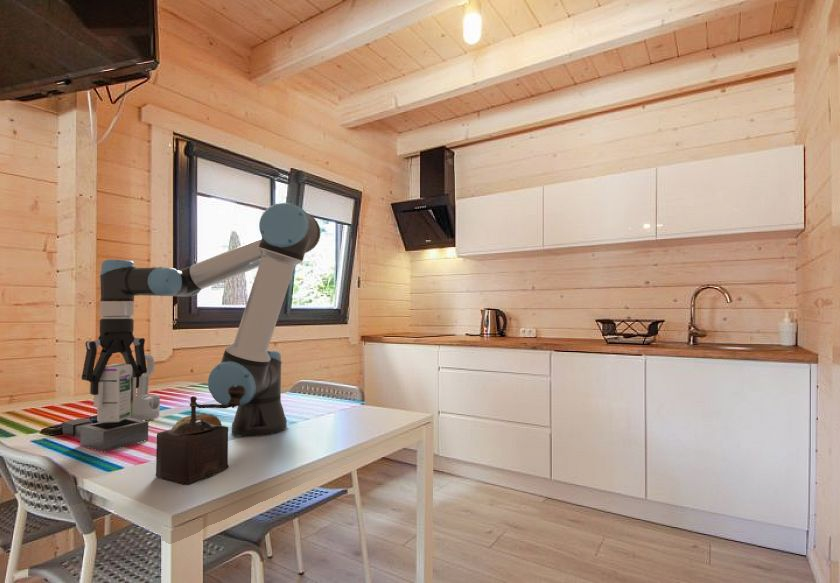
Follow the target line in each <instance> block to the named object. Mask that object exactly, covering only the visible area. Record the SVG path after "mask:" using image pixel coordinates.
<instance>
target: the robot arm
mask: <svg viewBox="0 0 840 583" xmlns="http://www.w3.org/2000/svg"><path fill="white" fill-rule="evenodd" d="M258 225H259V232H260V235H261V237H260V238H258V239H255V240H253V241H250V242H248V243H245V244H243V245H240V246H238V247H235V248H232V249H230V250H227V251H225V252H222V253H220V254H217V255H215V256H213V257H210V258H207V259H205V260H204V259H203V260H202V261H200V262H197V263H194V264H192V265H190V266H187V267H185V268H182V269H179V270H178V269H176V268H174V267H168V266H165V267H164V266H158V267H136V264H135V262H134V261H133V260H128V259H105V260H103V261H102V262H101V267H100V275H99V277H100V302H99V316H100V317H102V318H101V319H100V320H99V337H98V338H97V339H95V340H91V341H90V340H87V341H86V342H85V343H84V344H85V347H86V348H85V349H86V352H85V353H86V354H85V358H84V361H83V362H84V363H83V369H82V373H81V380H82V381H88V382H89V383H90V384H89V387H90V389H89V393H90V395H92V396H93V408H96V409H97V408H101V407H102V402H103V382H101V381H99V380H100V378H101V376H102V374H103V371H104V369H105V367H106V366H108V365H107V364H108V362H109V359H110V358H111V357H112V356H113V354H117V353H120V354H121V355H122V358H123V359H124V362H125V364H131V365H132V368H133V397H132V402H134V401H136V396H137V388H138V387H139V377H141V376H142V374H145V373H146V372H147V360H146V359H145V354H146V353H145V342H146V339H145V338H144V337H135V335H134V327H135V326H134V319H133V318H132V317H134V316H135V305H134V304H135V296H147V297H149V296H151V297H153V296H154V297H155V296H158V297H181V298H188V297H194V296H196V295H198V294H199V293H200V292H201V291H202V290H204V289H206V288H209V287H211V286H213V285H217V284H219V283H221V282H223V281H224V282H225V281H226V280H229V279H231V278H234V277H236V276H239V275H241V274H244V273H247V272H249V271H251V270H252V271H253V270H254V269H257V271H256V274H255V276H254V280H253V282H252V286H251V289H250V292H249V295H248V299H247V302H246V305H245V308H244V311H243V314H242V317H241V321H240V323H239V326H238V329H237V333H236V335H235V338H234V342H233V343H232V344H230V345H228V346H226V347H225V349H224V352H223V355H222V358H221V361H220V363H218V364H216V365H215V367H214V368H212V370H211V371H210V373H209V376H208V379H207V386H208V391H209V393H210V394H211V397H212V398H213V399H214V401H216V402H217V403H218V404H220V405H227V404H228V402H229V401H230V395H229V393H228V389H229V388H230V387H231V386H233V385H239V386H243V387H244V388H245V389H246V394H245V395H244V396H243V397H242V399H241V400H240V401H241V405H240V406H237V409H236V411H235V415H234V418H233V421H232V423H231V433H232V434H233V435H234V436H238V437H262V436H269V435H274V434H278V433H280V432H283V431H285V430H286V429H287V427H288V424H287V421H288V420H287V417H286V416H285V411H284V407H283V405H282V400H281V398H282V397H281V396H282V394H281V393H282V392H281V390H282V389H281V388H282V363H283V362H282V359H281V358H282V356H281V353H280V352H279V351H277V350H268V349H269V347H270V343H271V340H272V337H273V333H274V330H275V328H276V325H277V322H278V320H279V319H278V318H279V316H280V313H281V309H282V307H283V303H284V300H285V297H286V294H287V291H288V287H289V285H290V283H291V279H292V276H293V273H294V269H295V267H296V266H297V265H300V264H301V263H303V261H304V258H305V254H306V253H309V252H311V251H312V250H314V249H315V247H316V246H317V245H318V243H319V242H320V238H321V228H320V225H319V223H318V221H317V220H316V219H315V218H314V216H312V215H311V214H309V213H308V212H306V211H305V209H303V207H300V206H298V205H296V204H293V203H290V202H278V203H275V204H273V205H270V206H269V207H267V208H265V210H264V211H263V213H262V215H261V216H260V219H259V224H258ZM132 344H133V345H134V354H135V358H134V356H133V350H132V348H131V346H132ZM99 345H100V346H101V348H102V349H101V351H100V353H99V356H98V359H97V362H96V357H97V351H98V348H99ZM135 360H136V362H135ZM95 362H96V364H95ZM136 363H137V365H136Z"/></svg>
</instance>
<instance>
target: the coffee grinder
mask: <svg viewBox="0 0 840 583" xmlns="http://www.w3.org/2000/svg"><path fill="white" fill-rule="evenodd" d="M228 393H229V395H230V401H229V402H228V404H227V405H222V404H220V403H218V404H217V403H205V404H199V403H197V400H198V399H197V396H193V395H192V396H191V397H190V398H189V401H190V403H189V407H190V412H191V413H190V416H191V419H190V421H188V422H185V423H183V424H182V425H180V426H179V427H178V428H174V429H172V428H171V429H167V430H164V431H160V432H157V434H156V449H155V450H156V451H155V453H156V454H155V455H156V457H155V458H156V459H155V460H156V461H155V462H156V463H155V465H156V466H155V478H158V479H161V480H165V481H169V482H172V483H175V484H176V483H177V484H181V485H185V486H189V485H192V484H195V483H197V482H199V481H200V482H201V481H202V480H205V479H207V478H210V477H212V476H214V475H216V474H218V473H221V472H223V471H225V470H227V469H228V468H229V426H226V425H222V426H220V425H213V424H209V423H207V422H205V421H203V420H197V419H196V414H197V412H196V411H197V410H196V409H197V408H199V409H229V408H232V409H234V408H236V407H238V406H240V405H241V401H240V400H241V399H242V397H243V396H244V395H245V394H246V389H245V388H244V387H243V386H239V385H233V386H231V387H230V388H229V389H228Z"/></svg>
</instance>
